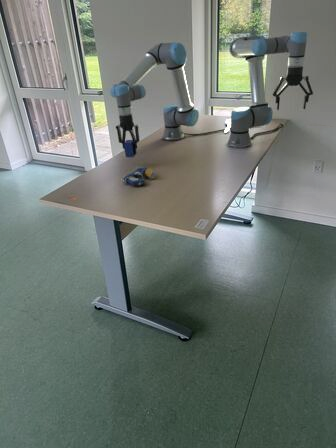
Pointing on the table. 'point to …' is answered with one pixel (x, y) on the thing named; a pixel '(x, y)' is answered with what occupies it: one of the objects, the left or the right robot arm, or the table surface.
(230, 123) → the spoon
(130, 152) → the block
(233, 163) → the table surface
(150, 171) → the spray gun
